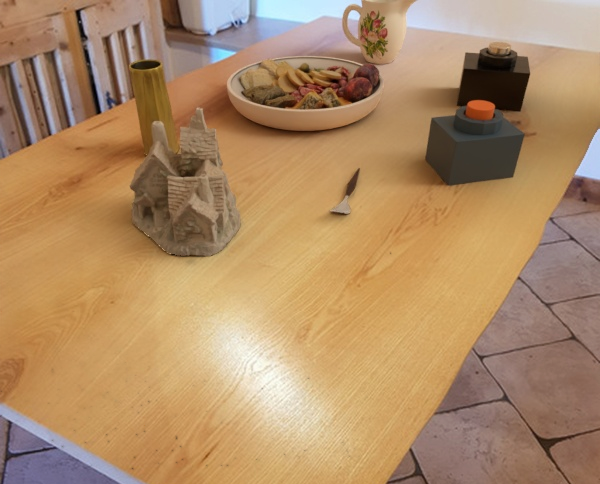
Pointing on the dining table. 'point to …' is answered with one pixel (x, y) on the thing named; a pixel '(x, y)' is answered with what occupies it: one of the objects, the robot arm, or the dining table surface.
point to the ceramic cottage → (185, 192)
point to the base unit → (494, 79)
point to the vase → (152, 101)
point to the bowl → (305, 92)
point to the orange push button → (480, 110)
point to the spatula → (344, 206)
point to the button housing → (473, 148)
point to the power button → (499, 49)
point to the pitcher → (379, 28)
